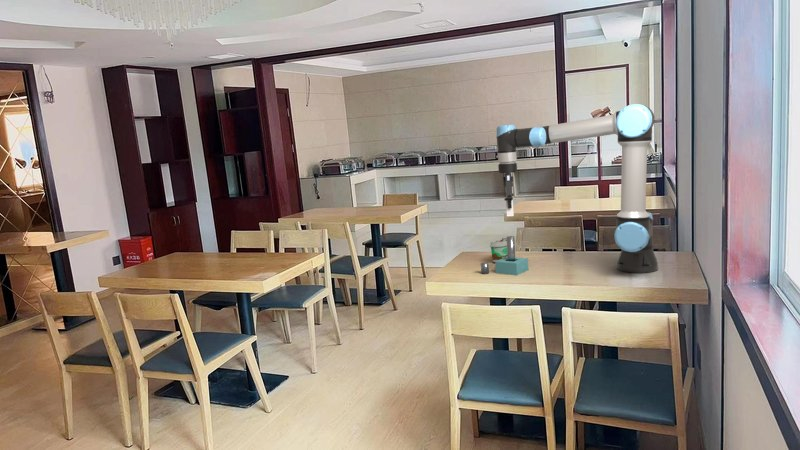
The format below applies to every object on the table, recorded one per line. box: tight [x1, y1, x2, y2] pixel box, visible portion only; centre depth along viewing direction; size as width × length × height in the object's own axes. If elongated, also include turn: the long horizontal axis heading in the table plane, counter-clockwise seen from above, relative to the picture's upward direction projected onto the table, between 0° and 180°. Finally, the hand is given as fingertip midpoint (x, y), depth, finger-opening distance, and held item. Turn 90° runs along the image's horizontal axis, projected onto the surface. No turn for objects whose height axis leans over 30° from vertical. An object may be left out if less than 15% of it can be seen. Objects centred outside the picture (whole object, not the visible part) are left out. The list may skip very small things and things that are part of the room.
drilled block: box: [494, 256, 530, 276], centre depth 236 cm, size 10×10×5 cm
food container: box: [489, 237, 508, 264], centre depth 255 cm, size 12×6×10 cm, turn 143°
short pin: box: [480, 261, 490, 275], centre depth 237 cm, size 3×3×4 cm
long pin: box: [506, 235, 516, 262], centre depth 235 cm, size 3×3×15 cm
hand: (510, 213), depth 233 cm, fingers open, 13 cm apart
